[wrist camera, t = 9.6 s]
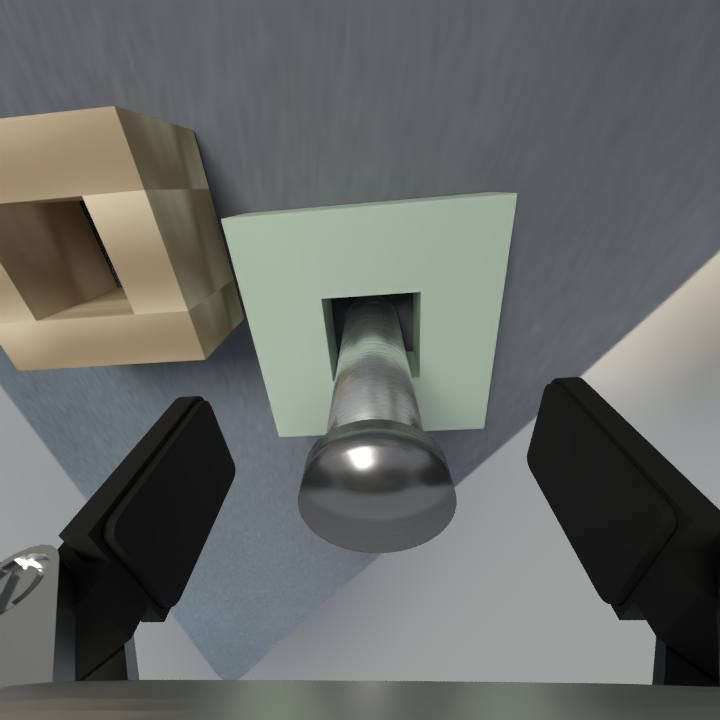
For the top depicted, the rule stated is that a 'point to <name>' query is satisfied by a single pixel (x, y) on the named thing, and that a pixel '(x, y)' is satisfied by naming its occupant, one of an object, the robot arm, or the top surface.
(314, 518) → the pin
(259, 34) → the top surface
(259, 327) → the dock
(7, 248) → the frame
